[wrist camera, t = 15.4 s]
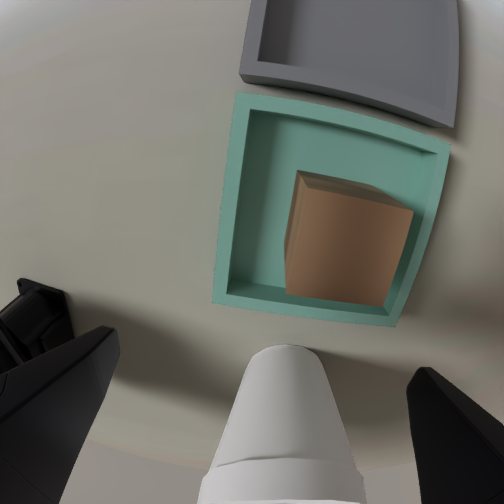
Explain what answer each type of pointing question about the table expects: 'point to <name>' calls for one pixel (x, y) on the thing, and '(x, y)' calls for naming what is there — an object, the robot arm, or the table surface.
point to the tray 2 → (281, 190)
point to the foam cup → (283, 438)
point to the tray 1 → (359, 52)
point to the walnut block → (343, 240)
